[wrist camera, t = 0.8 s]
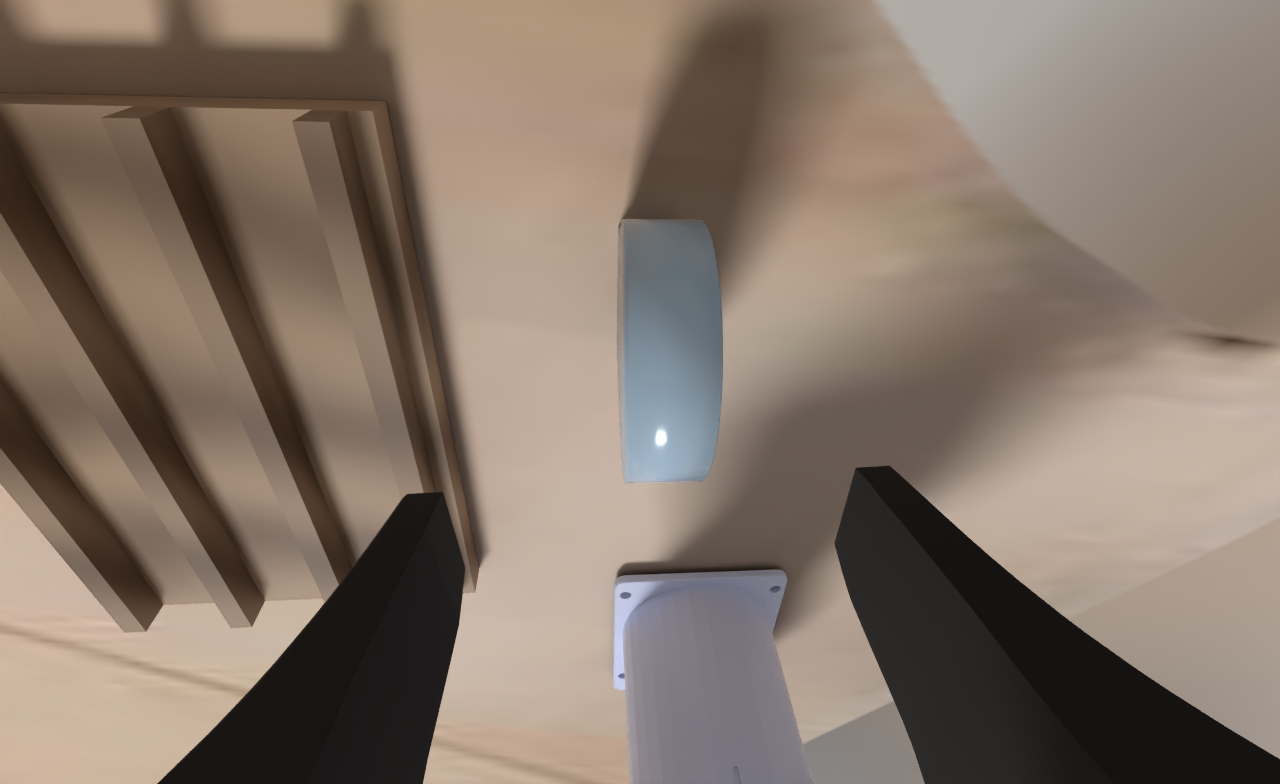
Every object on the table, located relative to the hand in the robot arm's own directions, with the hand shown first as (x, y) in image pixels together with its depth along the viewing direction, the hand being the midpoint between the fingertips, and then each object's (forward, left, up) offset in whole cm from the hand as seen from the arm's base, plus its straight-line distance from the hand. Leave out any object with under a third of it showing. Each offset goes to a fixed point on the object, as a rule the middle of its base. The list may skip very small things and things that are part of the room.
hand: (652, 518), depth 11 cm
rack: (-5, +13, -10) cm, 17 cm away
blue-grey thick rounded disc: (-1, -1, -10) cm, 10 cm away
